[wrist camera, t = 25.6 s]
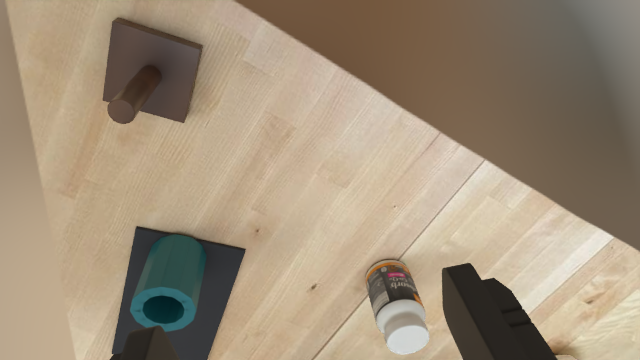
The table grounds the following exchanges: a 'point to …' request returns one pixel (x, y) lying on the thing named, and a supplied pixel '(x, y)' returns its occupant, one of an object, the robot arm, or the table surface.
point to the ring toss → (149, 73)
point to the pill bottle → (397, 307)
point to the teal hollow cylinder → (170, 283)
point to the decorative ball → (565, 357)
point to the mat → (211, 304)
